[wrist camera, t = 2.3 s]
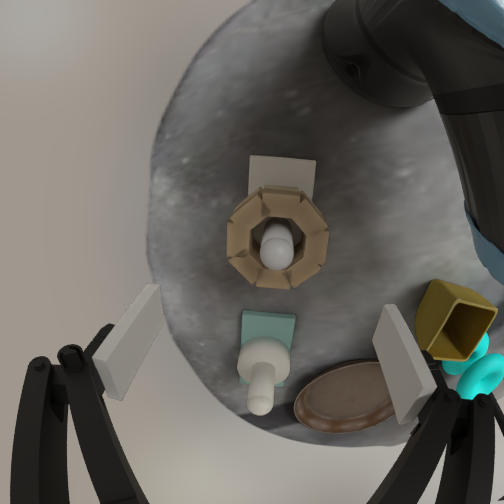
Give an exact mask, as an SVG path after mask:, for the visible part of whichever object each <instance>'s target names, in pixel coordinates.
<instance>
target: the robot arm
mask: <svg viewBox="0 0 504 504" xmlns="http://www.w3.org/2000/svg"><path fill="white" fill-rule="evenodd" d="M322 40H323V46H324V50H325V53H326V56H327V58H328V60H329V62H330V64H331V66H332V68H333V69H334V71H335V72H336V73H337V75H338V76H339V77H340V78H341V79H342V81H343V82H344V83H345V84H346V85H348V86H349V87H350V88H351V89H352V90H353V91H355V92H356V93H358V94H359V95H361V96H362V97H364V98H366V99H368V100H370V101H372V102H374V103H377V104H380V105H383V106H388V107H395V108H404V107H411V106H417V105H421V104H424V103H426V102H428V101H430V100H432V99H435V102H436V104H437V107H438V109H439V113H440V116H441V118H442V121H443V124H444V127H445V130H446V132H447V135H448V138H449V142H450V145H451V148H452V151H453V154H454V158H455V161H456V165H457V169H458V172H459V176H460V180H461V184H462V189H463V193H464V198H465V200H464V209H465V213H466V217H467V219H468V222H469V224H470V227H471V231H472V236H473V242H474V246H475V250H476V253H477V255H478V257H479V259H480V261H481V263H482V264H483V265H484V266H485V267H486V268H487V269H488V270H489V272H490V274H491V275H492V276H493V277H494V278H495V279H496V280H497V281H498V282H500V283H501V284H502V285H504V0H336V1H335V2H334V3H333V4H332V6H331V7H330V9H329V11H328V13H327V15H326V18H325V20H324V24H323V29H322ZM163 323H164V318H163V311H162V303H161V295H160V286H159V285H158V284H150V283H148V284H147V285H146V286H145V287H144V288H143V290H142V291H141V292H140V294H139V295H138V296H137V298H136V299H135V300H134V301H133V303H132V304H131V305H130V306H129V308H128V309H127V310H126V312H125V313H124V314H123V316H122V317H121V318H120V320H119V321H118V322H117V324H116V325H113V324H107V325H106V326H105V327H103V328H101V330H100V331H99V332H98V333H97V336H95V337H94V339H93V341H91V342H90V344H89V345H88V346H87V348H86V349H85V350H84V352H83V350H82V348H81V347H80V346H78V345H75V344H71V345H67V346H64V347H63V348H61V349H60V350H59V352H58V354H57V358H58V360H59V362H60V364H61V365H52V364H51V362H50V360H49V359H48V358H47V357H44V356H40V357H36V358H34V359H33V360H32V361H31V362H30V363H29V365H28V369H27V373H26V376H25V380H24V385H23V389H22V394H21V398H20V403H19V409H18V414H17V421H16V427H15V434H14V442H13V451H12V462H11V483H10V504H70V501H69V490H68V475H67V418H68V404H69V405H70V410H71V414H72V418H73V422H74V426H75V430H76V434H77V437H78V441H79V445H80V448H81V451H82V454H83V458H84V461H85V464H86V466H87V470H88V472H89V475H90V478H91V481H92V483H93V486H94V489H95V491H96V493H97V496H98V498H99V501H100V504H149V502H148V500H147V499H146V497H145V495H144V493H143V491H142V489H141V487H140V485H139V483H138V481H137V479H136V477H135V475H134V473H133V471H132V469H131V467H130V465H129V463H128V461H127V458H126V456H125V454H124V452H123V449H122V447H121V445H120V442H119V440H118V437H117V435H116V432H115V430H114V427H113V424H112V422H111V419H110V416H109V414H108V411H107V408H106V405H105V402H104V399H103V397H102V394H103V393H104V391H106V393H107V395H108V397H110V398H113V399H117V400H119V401H122V400H123V398H124V396H125V394H126V392H127V390H128V388H129V386H130V384H131V382H132V381H133V379H134V377H135V375H136V373H137V371H138V369H139V367H140V365H141V364H142V362H143V360H144V358H145V356H146V354H147V352H148V351H149V349H150V347H151V345H152V343H153V341H154V340H155V338H156V336H157V334H158V332H159V330H160V329H161V327H162V325H163ZM372 342H373V345H374V347H375V350H376V353H377V356H378V359H379V362H380V365H381V368H382V371H383V374H384V377H385V380H386V383H387V386H388V390H389V393H390V396H391V399H392V403H393V406H394V410H395V413H396V416H397V420H398V424H399V425H401V424H409V423H412V422H413V421H414V420H415V418H416V417H417V416H418V419H419V423H418V424H417V426H416V427H415V428H414V429H413V431H412V432H411V433H410V434H411V437H410V438H409V440H408V442H407V444H406V446H405V447H404V449H403V451H402V452H401V454H400V456H399V457H398V459H397V461H396V462H395V464H394V465H393V467H392V468H391V470H390V471H389V473H388V474H387V476H386V477H385V479H384V480H383V482H382V483H381V485H380V486H379V488H378V489H377V490H376V492H375V493H374V494H373V496H372V497H371V498H370V500H369V501H368V502H367V504H417V503H418V501H419V499H420V497H421V496H422V494H423V492H424V490H425V488H426V487H427V485H428V483H429V481H430V479H431V477H432V475H433V473H434V471H435V469H436V467H437V464H438V462H439V460H440V458H441V456H442V453H443V451H444V449H445V446H446V444H447V448H446V454H445V461H444V466H443V471H442V477H441V481H440V486H439V490H438V494H437V498H436V502H435V504H490V501H491V493H492V485H493V474H494V457H495V456H494V455H495V419H494V404H493V401H492V399H491V398H490V397H489V396H488V395H486V394H484V393H479V394H477V395H476V396H475V397H474V399H473V400H470V399H462V398H461V397H460V395H459V394H458V392H456V391H455V390H453V389H448V387H447V385H446V382H445V380H444V378H443V376H442V374H441V372H440V370H438V369H439V368H438V366H437V364H436V362H435V360H434V358H433V356H432V355H431V354H430V353H429V352H428V351H427V350H420V349H419V347H418V345H417V343H416V341H415V340H414V338H413V336H412V334H411V332H410V330H409V328H408V326H407V324H406V322H405V321H404V319H403V317H402V315H401V313H400V311H399V310H398V308H397V306H396V304H384V306H383V309H382V313H381V316H380V319H379V322H378V325H377V327H376V330H375V333H374V336H373V339H372Z"/></svg>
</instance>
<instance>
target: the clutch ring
mask: <svg viewBox="0 0 504 504" xmlns="http://www.w3.org/2000/svg"><path fill="white" fill-rule="evenodd" d="M267 216H271V217H282V218H292V219H293V220H294V222H295V223H296V224H297V225H298V226H299V227H300V229H301V230H302V239H301V242H300V243H298V244H297V245H296V246H294V247H293V249H294V256H293V260H292V262H291V263H290V265H289V266H287V267H286V268H284V269H282V270H272V269H269V268H267V267H266V266H265V265H264V264H263V262H262V261H261V258H260V248H261V245H260V244H259V243H258V242H257V241H256V240H255V239H254V238H253V228H254V227H255V226H256V225H257V224H259V223H260V222H261V221H262V220H264V219H265V218H266V217H267ZM329 233H330V232H329V229H328V225H327V223H326V221H325V219H324V217H323V214H322V213H321V212H320V211H319V209H318V208H317V207H316V206H315V204H314V203H313V202H312V201H311V200H310V198H309V197H308V196H307V195H306V194H305V192H304V191H303V190H301V191H300V192H299V189H298V187H287V186H276V185H265V186H264V190H263V189H262V188H261V186H260V187H259V188H258V189H256V190H255V191H254V192H253V193H252V194H251V195H249V196H248V197H247V198H246V199H245V200H244V201H242V202H241V203H240V204H239V205H238V206H237V207H236V208H235V210H234V212H233V213H232V215H231V217H230V219H229V221H228V223H227V256H230V258H229V262H230V263H231V264H232V265H233V266H234V267H235V268H236V269H237V270H238V271H239V272H240V273H241V274H242V275H243V276H244V277H245V278H246V279H247V280H248V281H249V282H250V283H251V284H253V283H254V282H256V281H257V282H256V287H266V288H277V289H289V290H290V284H291V285H292V286H293V287H294V288H296V287H297V286H298V285H300V284H301V283H303V282H304V281H306V280H307V279H308V278H310V277H311V276H313V275H314V274H315V273H317V272H318V271H320V270H321V265H324V264H325V258H326V252H327V246H328V239H329ZM320 264H321V265H320Z"/></svg>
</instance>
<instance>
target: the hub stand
mask: <svg viewBox="0 0 504 504" xmlns="http://www.w3.org/2000/svg"><path fill="white" fill-rule="evenodd" d="M295 320H296V317H295V315H294V314H281V313H270V312H259V311H249V310H243V313H242V332H241V349H240V354H239V359H238V364H237V370H238V373H239V375H240V380H239V383H244V384H249V391H248V398H247V407H248V409H249V411H250V412H251V413H253V414H255V415H265V414H267V413H268V412H270V410H271V409H272V407H273V397H274V386H275V387H283V384H284V380H285V379H286V378H287V376H288V375H289V372H290V348H291V343H292V337H293V331H294V325H295Z"/></svg>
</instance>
